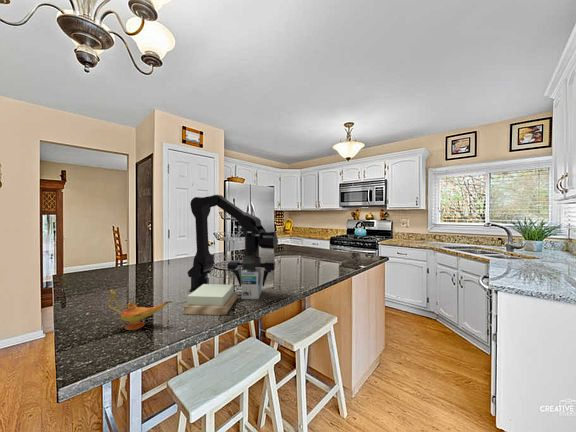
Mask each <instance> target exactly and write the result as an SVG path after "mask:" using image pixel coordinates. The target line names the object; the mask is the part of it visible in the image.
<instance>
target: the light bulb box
mask: <svg viewBox="0 0 576 432" xmlns="http://www.w3.org/2000/svg"><path fill="white" fill-rule="evenodd" d="M262 269H263V268H256V267H255V270H243V269H242V270H241V277H242V285H241V300H259V298H260V296H261V294H262V281H263V278H262V275H263V274H262Z"/></svg>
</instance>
